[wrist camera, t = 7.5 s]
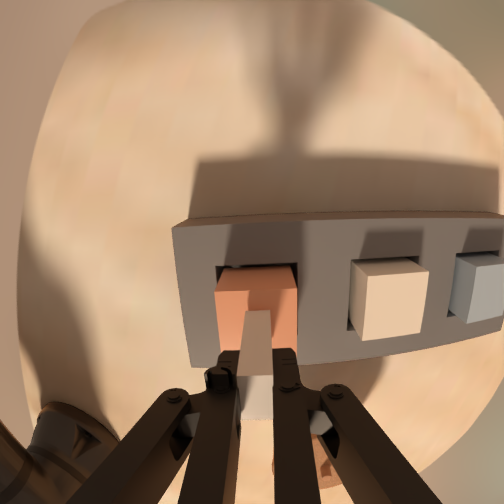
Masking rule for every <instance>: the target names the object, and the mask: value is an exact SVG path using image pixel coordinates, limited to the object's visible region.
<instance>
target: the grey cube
mask: <svg viewBox="0 0 504 504" xmlns="http://www.w3.org/2000/svg"><path fill="white" fill-rule="evenodd" d="M448 309H449V310H450V311H451V312H452V313H454V314H455V315H456V316H457V317H459V318H460V319H461V320H462V321H463V322H465V323H466V324H468V323H472V322H477V321H481V320H485V319H489V318H494V317H497V316H501V315H503V311H504V259H503V258H500V257H498V256H495V255H493V254H490V253H488V252H486V251H481V252H467V253H456V258H455V267H454V275H453V283H452V289H451V296H450V302H449V307H448Z"/></svg>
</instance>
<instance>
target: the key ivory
mask: <svg viewBox="0 0 504 504" xmlns="http://www.w3.org/2000/svg"><path fill="white" fill-rule="evenodd" d="M428 276H429V271H428V270H426V269H424V268H423V267H421V266H419V265H418V264H416V263H414V262H413V261H411V260H409V259H408V258H406V257H387V258H370V259H352V260H351V263H350V288H349V305H348V318H349V320H350V321H351V323H352V325H353V326H354V328H355V330H356V332H357V333H358V335H359V337H360V338H361V340H362V341H366V340H374V339H382V338H389V337H396V336H403V335H409V334H415V333H420V329H421V324H422V318H423V312H424V306H425V300H426V292H427V285H428Z"/></svg>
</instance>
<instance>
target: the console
mask: <svg viewBox="0 0 504 504" xmlns="http://www.w3.org/2000/svg"><path fill="white" fill-rule="evenodd" d="M172 237H173V247H174V256H175V264H176V272H177V280H178V288H179V295H180V302H181V309H182V315H183V322H184V328H185V334H186V340H187V346H188V352H189V357H190V363H191V367H192V368H211V367H214V366H216V364H217V360H218V356H219V355H220V354H221V348H220V340H219V331H218V322H217V313H216V304H215V294H214V291H215V289H216V286H217V284H218V282H219V279H220V277H221V274H222V272H223V270H224V268H244V267H267V266H289V265H290V268H291V271H292V274H293V277H294V280H295V283H296V286H297V364H298V365H312V364H323V363H334V362H343V361H352V360H360V359H367V358H375V357H381V356H388V355H394V354H400V353H406V352H412V351H417V350H422V349H427V348H432V347H437V346H442V345H446V344H451V343H455V342H459V341H463V340H467V339H471V338H475V337H479V336H483V335H486V334H490V333H493V332H497V331H500V330H501V327H502V323H503V319H504V311H503V315H501V316H497V317H494V318H489V319H485V320H481V321H477V322H472V323H468V324H466V323H465V322H463V321H462V320H461V319H460V318H459V317H457V316H456V315H455V314H454V313H452V312H451V311H450V310H449V309H448V307H449V302H450V296H451V289H452V283H453V275H454V267H455V258H456V253H467V252H481V251H486V252H488V253H490V254H493V255H495V256H498V257H500V258H503V259H504V215H500V214H496V213H491V212H461V211H356V212H316V213H287V214H264V215H244V216H226V217H210V218H194V219H187V220H185V221H183V222H181V223H179V224H177V225H176V226H174V227H172ZM387 257H406V258H408V259H409V260H411V261H413V262H414V263H416V264H418V265H419V266H421V267H423V268H424V269H426V270H428V271H429V276H428V285H427V292H426V300H425V306H424V312H423V318H422V324H421V329H420V333H415V334H409V335H403V336H396V337H389V338H382V339H374V340H366V341H362V340H361V338H360V337H359V335H358V333H357V332H356V330H355V328H354V326H353V325H352V323H351V321H350V320H349V318H348V305H349V288H350V263H351V260H352V259H370V258H387Z"/></svg>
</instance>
